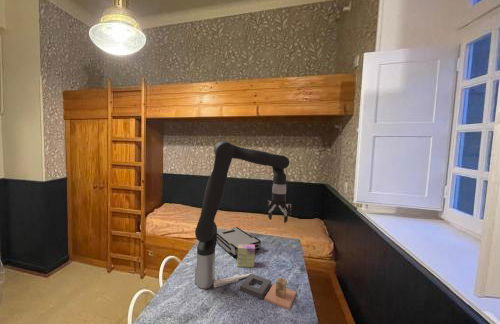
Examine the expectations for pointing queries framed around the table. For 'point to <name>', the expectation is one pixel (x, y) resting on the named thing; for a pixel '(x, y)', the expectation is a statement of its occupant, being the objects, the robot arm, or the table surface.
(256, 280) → the pocket frame
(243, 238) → the game console
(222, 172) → the robot arm
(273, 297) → the terracotta tile
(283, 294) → the oak block
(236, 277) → the toothed blade
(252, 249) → the box
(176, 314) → the table surface
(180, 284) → the table surface
